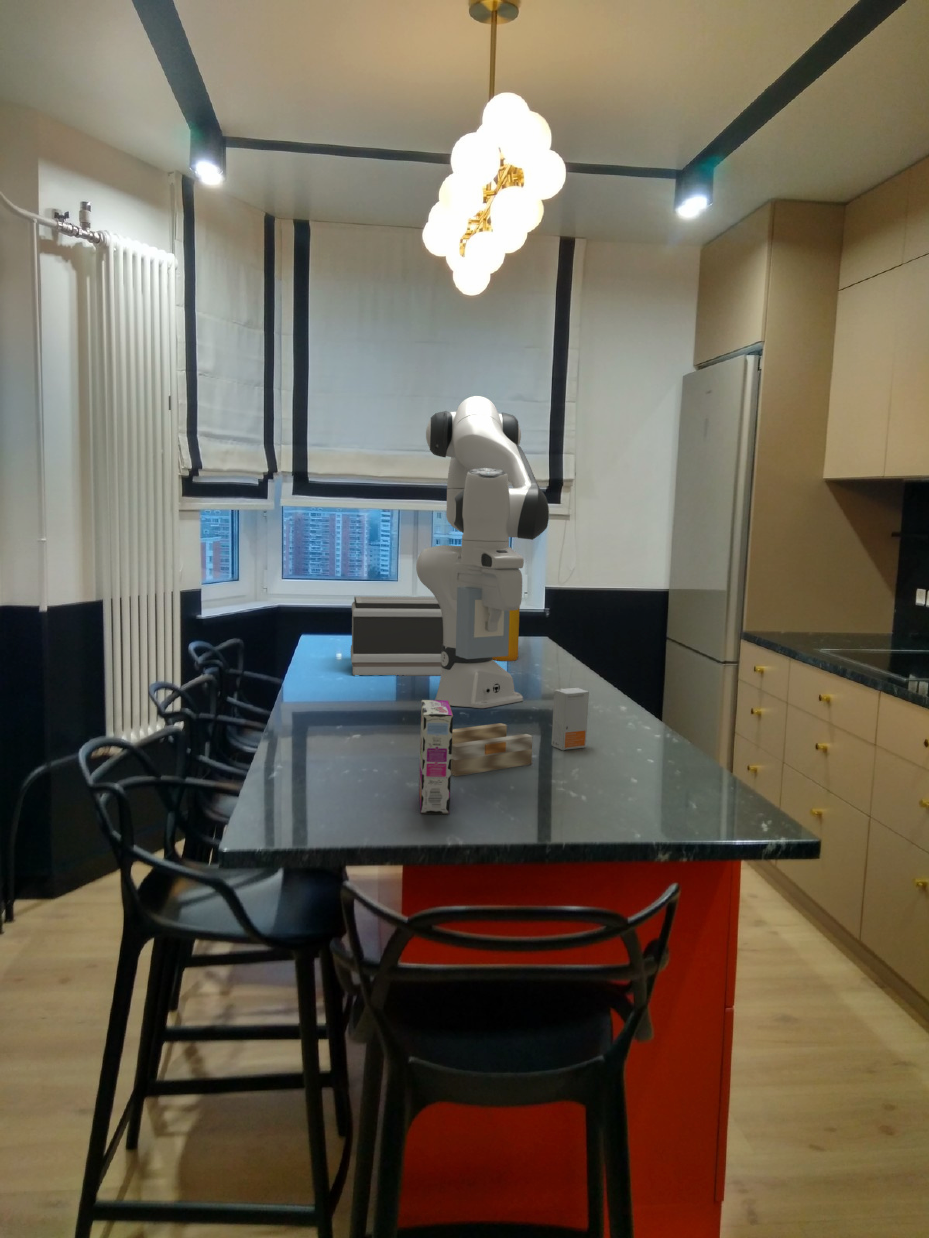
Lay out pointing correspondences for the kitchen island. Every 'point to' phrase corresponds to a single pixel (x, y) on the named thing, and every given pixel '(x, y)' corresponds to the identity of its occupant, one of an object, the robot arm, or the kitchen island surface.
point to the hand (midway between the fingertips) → (482, 628)
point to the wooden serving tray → (488, 749)
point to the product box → (478, 627)
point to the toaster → (396, 636)
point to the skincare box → (570, 718)
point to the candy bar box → (435, 756)
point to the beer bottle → (512, 637)
